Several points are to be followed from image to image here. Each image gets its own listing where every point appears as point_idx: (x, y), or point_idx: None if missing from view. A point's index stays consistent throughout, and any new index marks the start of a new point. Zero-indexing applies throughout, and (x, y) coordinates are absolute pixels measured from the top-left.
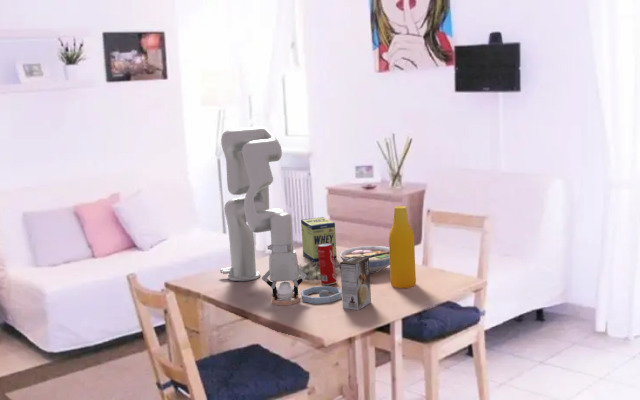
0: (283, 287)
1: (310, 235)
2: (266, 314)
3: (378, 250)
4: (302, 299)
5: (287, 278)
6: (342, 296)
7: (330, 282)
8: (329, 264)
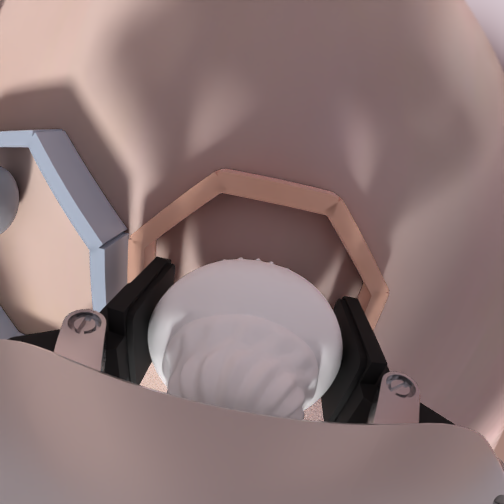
0: (271, 351)
1: None
2: (461, 35)
3: None
4: (117, 229)
5: (153, 429)
6: None
7: None
8: None
